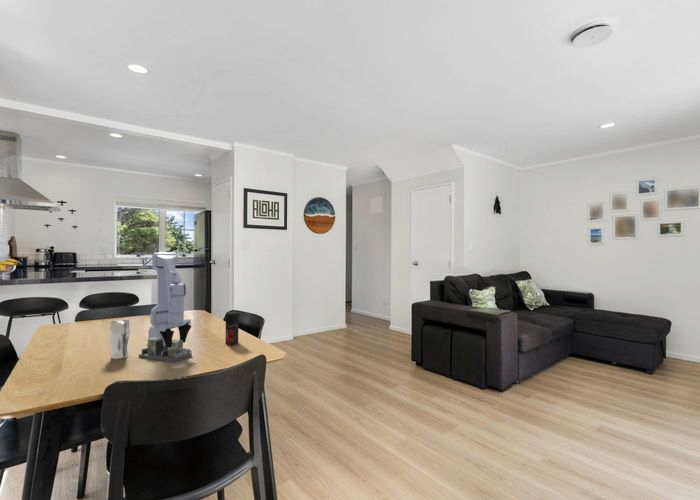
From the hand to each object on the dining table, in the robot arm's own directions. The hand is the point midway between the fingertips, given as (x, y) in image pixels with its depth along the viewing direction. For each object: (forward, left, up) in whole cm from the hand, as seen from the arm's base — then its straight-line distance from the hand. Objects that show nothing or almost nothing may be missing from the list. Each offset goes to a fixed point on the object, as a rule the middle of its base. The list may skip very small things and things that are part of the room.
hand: (175, 344), depth 144 cm
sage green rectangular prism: (0, 0, -4) cm, 4 cm away
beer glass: (-22, -7, -6) cm, 24 cm away
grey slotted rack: (-5, 0, -6) cm, 8 cm away
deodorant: (+9, +26, -6) cm, 28 cm away
